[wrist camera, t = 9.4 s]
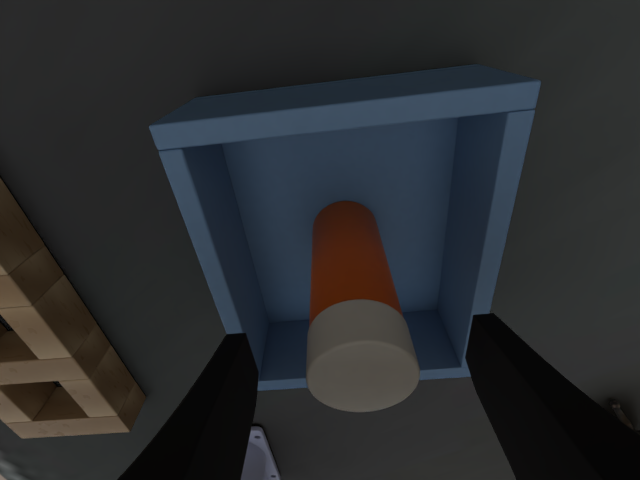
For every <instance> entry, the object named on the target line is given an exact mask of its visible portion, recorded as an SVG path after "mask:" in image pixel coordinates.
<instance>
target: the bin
mask: <svg viewBox="0 0 640 480" xmlns="http://www.w3.org/2000/svg"><path fill="white" fill-rule="evenodd" d="M540 85H541V81H540V80H537V79H533V78H529V77H525V76H521V75H518V74H514V73H510V72H506V71H502V70H498V69H495V68H491V67H487V66H483V65H480V64H472V65H464V66H456V67H447V68H439V69H430V70H422V71H414V72H405V73H397V74H389V75H380V76H372V77H363V78H355V79H347V80H338V81H330V82H321V83H313V84H305V85H296V86H288V87H280V88H271V89H263V90H254V91H246V92H238V93H229V94H221V95H212V96H204V97H196V98H194V99H192V100H191V101H189V102H188V103H186V104H184V105H183V106H181V107H179V108H178V109H176V110H174V111H173V112H171V113H169V114H168V115H166V116H164V117H163V118H161V119H159V120H158V121H156V122H155V123H153V124H151V125H150V126H149V129H150V131H151V134H152V137H153V139H154V142H155V145H156V147H157V149H158V150H160V151H159V155H160V158H161V161H162V163H163V166H164V169H165V171H166V174H167V177H168V179H169V182H170V185H171V187H172V190H173V193H174V195H175V198H176V201H177V203H178V206H179V209H180V211H181V214H182V216H183V219H184V222H185V224H186V227H187V230H188V232H189V235H190V238H191V240H192V243H193V246H194V248H195V251H196V254H197V256H198V259H199V262H200V264H201V267H202V270H203V272H204V275H205V278H206V280H207V283H208V286H209V288H210V291H211V294H212V296H213V299H214V302H215V304H216V307H217V310H218V312H219V315H220V318H221V320H222V323H223V326H224V328H225V331H226V334H235V333H246V335H247V338H248V341H249V344H250V347H251V350H252V353H253V356H254V359H255V362H256V365H257V368H258V371H259V377H258V390H257V391H263V390H278V389H293V388H308V386H307V383H306V360H307V336H308V330H309V320H310V290H311V261H312V231H313V223H314V220H315V218H316V216H317V215H318V214H319V212H320V211H321V210H322V209H324V208H325V207H326V206H328V205H330V204H332V203H335V202H340V201H352V202H356V203H359V204H361V205H363V206H365V207H366V208H368V209H369V210H370V211H371V212H372V214H373V215H374V217H375V219H376V223H377V226H378V230H379V233H380V237H381V240H382V244H383V247H384V251H385V254H386V258H387V261H388V265H389V268H390V272H391V275H392V279H393V282H394V286H395V289H396V293H397V296H398V300H399V303H400V307H401V310H402V314H403V317H404V319H405V321H406V323H407V326H408V329H409V333H410V336H411V339H412V343H413V346H414V350H415V353H416V357H417V360H418V363H419V367H420V378H419V380H427V379H442V378H457V377H471V375H470V372H469V369H468V365H467V362H466V359H465V356H466V350H467V345H468V340H469V334H470V329H471V324H472V319H473V315H477V314H489V312H490V308H491V304H492V299H493V295H494V290H495V286H496V282H497V277H498V273H499V268H500V264H501V259H502V255H503V251H504V246H505V242H506V237H507V233H508V229H509V224H510V220H511V215H512V211H513V206H514V202H515V198H516V193H517V189H518V184H519V180H520V176H521V171H522V167H523V162H524V158H525V153H526V149H527V145H528V140H529V136H530V131H531V127H532V123H533V118H534V114H535V110H534V108H535V107H536V103H537V98H538V94H539V90H540Z"/></svg>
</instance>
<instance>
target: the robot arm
mask: <svg viewBox="0 0 640 480" xmlns="http://www.w3.org/2000/svg"><path fill="white" fill-rule="evenodd" d="M465 359H466V362H467V365H468V369H469V372H470V375H471V378H472V381H473V384H474V387H475V390H476V392H477V394H478V396H479V399H480V401H481V403H482V405H483V407H484V410H485V412H486V414H487V416H488V418H489V420H490V423H491V425H492V427H493V429H494V431H495V433H496V435H497V438H498V440H499V442H500V444H501V446H502V448H503V451H504V453H505V455H506V457H507V459H508V461H509V463H510V466H511V468H512V470H513V473H514V475H515V477H516V480H640V435H639V434H638V433H636V432H635V431H634V430H632V429H631V428H629V427H628V426H627V425H625V424H624V423H622V422H621V421H620V420H618V419H617V418H615V417H614V416H613V415H611V414H610V413H609V412H607V411H606V410H605V409H604V408H602V407H601V406H600V405H598V404H597V403H596V402H595V401H593V400H592V399H591V398H590V397H588V396H587V395H586V394H585V393H583V392H582V391H581V390H580V389H578V388H577V387H576V386H575V385H573V384H572V383H571V382H570V381H569V380H567V379H566V378H565V377H564V376H563V375H561V374H560V373H559V372H558V371H557V370H556V369H555V368H553V367H552V366H551V365H550V364H549V363H548V362H546V361H545V360H544V359H543V358H542V357H541V356H540V355H538V354H537V353H536V352H535V351H534V350H533V349H532V348H531V347H530V346H529V345H527V344H526V343H525V342H524V341H523V340H522V339H521V338H520V337H519V336H518V335H517V334H515V333H514V332H513V331H512V330H511V329H510V328H509V327H508V326H507V325H506V324H505V323H504V322H503V321H501V320H500V319H499V318H498V317H497V316H496V315H495V314H494V313H490V314H477V315H473V319H472V324H471V329H470V334H469V340H468V345H467V350H466V356H465ZM258 377H259V371H258V368H257V365H256V362H255V359H254V356H253V353H252V350H251V347H250V344H249V341H248V338H247V335H246V333H235V334H227V335H226V336H225V337H224V339H223V341H222V342H221V344H220V345H219V347H218V348H217V350H216V352H215V353H214V355H213V356H212V358H211V359H210V361H209V362H208V364H207V366H206V367H205V369H204V370H203V372H202V373H201V375H200V376H199V377H198V379H197V380H196V382H195V383H194V385H193V386H192V388H191V389H190V390H189V392H188V393H187V395H186V396H185V398H184V399H183V400H182V402H181V403H180V404H179V406H178V407H177V408H176V410H175V411H174V412H173V414H172V415H171V416H170V418H169V419H168V420H167V422H166V423H165V424H164V426H163V427H162V428H161V429H160V431H159V432H158V433H157V434H156V436H155V437H154V438H153V439H152V441H151V442H150V443H149V444H148V445H147V447H146V448H145V449H144V450H143V451H142V452H141V454H140V455H139V456H138V457H137V458H136V459H135V461H134V462H133V463H132V464H131V465H130V466H129V467H128V468H127V469H126V471H125V472H124V473H123V474H122V475H121V476H120V477H119V478H118V479H117V480H280V479H281V476H280V474H279V471H278V468H277V466H276V463H275V460H274V458H273V455H272V452H271V450H270V447H269V444H268V442H267V439H266V436H265V434H264V431H263V429H262V428H261V427H259V426H252V422H253V417H254V412H255V407H256V399H257V390H258Z"/></svg>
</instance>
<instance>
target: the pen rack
mask: <svg viewBox="0 0 640 480" xmlns="http://www.w3.org/2000/svg"><path fill="white" fill-rule="evenodd" d="M0 315H1V316H2V317H3V318H4V319H5V320H6V322H7V323H8V324H9V325H10V326H11V327H12V329H13V330H14V331H7V329H6V328H5V327H4V326H3V325H2V324H1V322H0V419H1V420H2V421H3V422H4V423H5V424H6V425H7V426H8V427H10V428H11V429H12V430H13V431H14V432H15V433H16V434H17V435H19V436H20V437H21V438H39V437H55V436H71V435H88V434H104V433H120V432H130V431H131V429H132V427H133V425H134V423H135V420H136V418H137V416H138V414H139V412H140V410H141V407H142V405H143V403H144V401H145V399H146V396H145V395H144V393H143V392H142V390H141V389H140V387H139V386H138V384H137V383H136V382H135V380H134V379H133V377H132V376H131V374H130V373H129V371H128V370H127V368H126V367H125V365H124V364H123V362H122V361H121V359H120V358H119V356H118V355H117V353H116V352H115V350H114V349H113V347H112V346H111V345H110V343H109V341H108V340H107V338H106V337H105V335H104V333H103V332H102V330H101V329H100V327H99V326H98V325H97V324H96V321H95V320H94V318H93V317H92V315H91V314H90V312H89V311H88V309H87V308H86V306H85V305H84V303H83V302H82V300H81V299H80V297H79V296H78V294H77V293H76V291H75V290H74V288H73V287H72V285H71V284H70V282H69V281H68V279H67V278H66V276H65V275H63V272H62V270H61V269H60V267H59V266H58V264H57V263H56V261H55V260H54V258H53V257H52V255H51V254H50V252H49V251H48V249H47V248H46V246H44V243H43V241H42V240H41V238H40V237H39V235H38V234H37V232H36V231H35V229H34V228H33V226H32V225H31V223H30V222H29V220H28V218H27V217H26V215H25V214H24V212H23V211H22V209H21V208H20V206H19V205H18V203H17V202H16V200H15V199H14V197H13V196H12V194H11V193H10V191H9V190H8V188H7V187H6V185H5V184H4V182H3V181H2V179H1V178H0ZM52 381H59V383H60V384H61V385H62V386H63V387H57V386H56V385H55V384H54V383H53V382H52Z"/></svg>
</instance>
